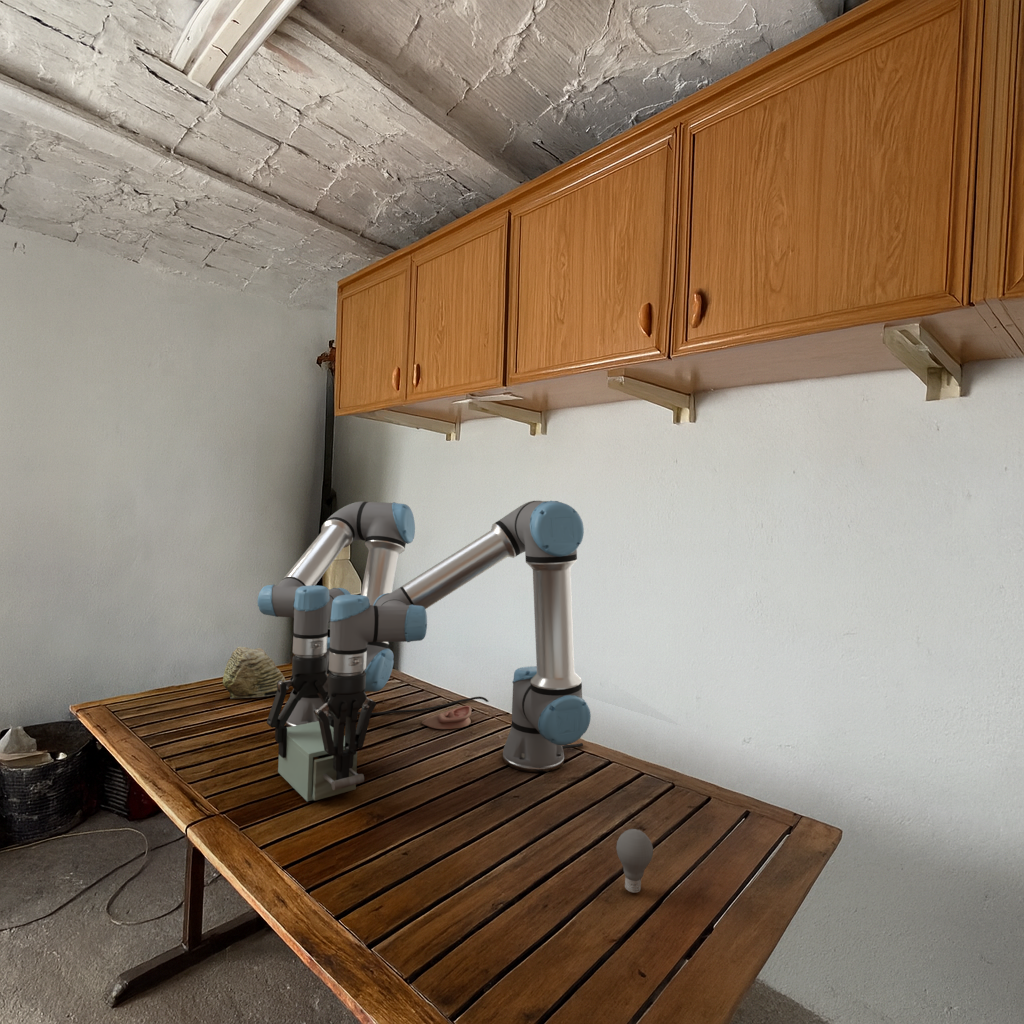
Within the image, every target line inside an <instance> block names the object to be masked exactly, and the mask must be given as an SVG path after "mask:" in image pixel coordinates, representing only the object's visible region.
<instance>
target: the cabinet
mask: <svg viewBox="0 0 1024 1024" xmlns="http://www.w3.org/2000/svg"><path fill="white" fill-rule="evenodd" d="M285 727H286V728H287V747H286V757H285V758H282V757H281V756H280V755H279V754H278V761H277V762H278V765H277V773H278V774H279V775H280V776H281V777H282V778H283V779H284V780H285V781H286V782H287V783H288V784H289V785H290V786H291V787H292V789H294V790H295V792H297V793H298V794H299V795H300V796H301V797H302V798H303V799H304V800H305V801H306V802H307V803H308V802H311V801H314V800H313V792H312V775H313V757H317V756H321V755H325V754H328V753H327V752H326V751H325V750H324V745H323V740H322V735H321V730H320V725H319V721H317V722H312V723H307V724H301V725H296V726H291V727H287V726H285ZM330 729H331V734H332V739H333V732H334V728H333V727H332V726H330ZM343 750H345V735H344V746H343Z"/></svg>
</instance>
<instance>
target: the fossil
mask: <svg viewBox="0 0 1024 1024" xmlns="http://www.w3.org/2000/svg"><path fill="white" fill-rule="evenodd" d="M222 676H223V677H222V685H223V687H224V688H225V690H226V691H228V693H229V698H230V699H250V698H264V697H271V696H276V693H277V682H278V681H279V680H282V681H286V678H285V676H284V674H283V673H282V672H281V669H279V668H278V667H277V665H276V663H275V662H274V660H273V659H272V658H271V657H270V656H269V655H268V654H267V653H266V652H265V650H264V649H263V648H260V647H258V648H251V647H247V646H246V647H245V646H238V647H237V648H236V649H235V650H233V651H232V653H231V656H230V657H229V659H228V660H227V663H226V666H225V668H224V671H223V675H222Z"/></svg>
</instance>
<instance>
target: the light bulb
mask: <svg viewBox="0 0 1024 1024" xmlns="http://www.w3.org/2000/svg"><path fill="white" fill-rule="evenodd" d="M615 849H616V854H617V857H618V859H619V861H620V863H621V865H622V867H623V873H624V874H623V875H624V876H625V878H624V888H625V890H627V891H628V892H630V893H634V894H635V893H639V892H640V891H641V889H642V887H641V886H642V879H643V877H644V875H645V871H646V868H647V867H648V866H649V864H650V863H651V861H652V859H653V855H654V847H653V843H652V841H651V838H649V836H648V835H647V834H646V833H645V832H643V831H642V830H641V829H636V828H629V829H627V830H625V831H623V832H622V833H621V834H620V835H619V837H618V839H617V841H616V847H615Z"/></svg>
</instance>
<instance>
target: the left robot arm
mask: <svg viewBox="0 0 1024 1024" xmlns="http://www.w3.org/2000/svg"><path fill="white" fill-rule="evenodd" d="M413 513H414V512H413V511H412V508H411V507H410V506H409V505H408V504H405V503H399V502H380V501H363V500H362V501H355V502H352V503H348V504H347V505H344V506H343V507H341V508H339V509H338V510H336V511H335V512H334V513H333V514H331V515H330V516H329V517H328V518H327V519H326V520H325V521H324V522H323V524H322V525H321V528H320V533H319V534H318V535H317V537H316V538H315V539H314V540H313V541H312V543H311V544H310V545H309V546H308V548H307V549H306V550H305V551H304V553H303V554H302V555H301V556H300V558H299V559H298V560H297V561H296V562H295V564H294V565H293V566H292V567H291V568H290V570H289V571H288V572H287V573H286V575H284V577H283V578H282V579H281V581H280V582H279V583H278V584H274V583H273V584H267V585H264V586H263V587H262V588H261V589H260V590H259V593H258V596H257V606H258V610H259V612H261V614H263V615H265V616H269V617H276V618H279V617H280V618H291V619H292V618H293V637H292V654H293V656H292V659H291V660H292V661H291V677H290V679H288V680H286V679H285V680H286V681H282V680H279V681H278V682H277V693H276V695H274V699H273V702H272V705H271V707H270V711H269V713H268V716H267V719H266V724H267V725H268V726H269V727H270V728H275V729H274V740H275V742H276V743H277V744H278V756H279V755H280V756H281V757H282V758H285V757H286V747H287V728H286V727H291V726H296V725H301V724H307V723H312V722H317V721H319V720H318V718H317V716H316V715H315V713H314V709H315V708H320V707H321V706H323V705H324V704H325V700H326V698H327V695H328V674H329V673H330V670H329V669H328V668H329V650H330V636H329V635H328V633H329V624H330V620H331V619H330V618H331V610H332V602H333V600H334V598H336V597H337V596H340V595H352V594H351V592H350V591H349V590H348V589H346V588H343V587H332V588H328V587H327V586H324V585H317V584H318V582H319V581H320V580H321V578H322V577H323V575H325V573H326V572H327V571H328V569H329V568H330V566H331V565H332V563H333V562H334V561H335V560H336V558H337V557H338V556H339V555H340V553H341V552H342V550H343V549H345V548H347V547H349V546H350V545H351V544H352V543H353V542H355V541H364V546H365V547H366V548H367V550H368V554H367V559H366V565H365V569H364V575H363V580H362V585H361V591H360V595H363V596H367V597H368V598H369V603H370V605H373V604H374V602H375V600H376V599H377V598H378V597H379V596H381V595H383V594H386V593H392V592H393V591H394V583H395V578H396V573H397V566H398V561H399V556H400V554H402V553H403V552H405V550H406V545H408V544H411V543H412V542H413V541H414V539H415V533H416V523H415V517H414V514H413ZM389 646H390V642H368V643H367V661H366V669H365V670H364V671H365V673H366V685H365V693H366V692H372V693H377V692H379V691H381V690H382V689H383V688H384V687H385V686H386V684H388V682H389V680H390V677H391V675H392V672H393V668H394V663H395V660H394V652H393V651H392V650H391V648H390V647H389ZM290 687H292V690H291V692H290V693H289V697H288V699H287V701H286V702H285V699H286V695H287V691H288V690H290ZM474 700H483V701H484V702H486V703H489V702H490V700H489V699H487V698H486V697H483V696H474V697H469V698H463V699H457V700H453V701H450V702H447V703H442V704H439V705H435V706H429V707H424V708H414V709H398V710H386V711H377V712H372V713H371V716H381V715H390V714H400V713H401V714H403V713H418V712H425V711H431V710H436V709H440V708H444V707H447V706H453V705H455V704H458V703H463V702H464V703H465V702H469V701H474ZM284 702H285V704H284ZM360 712H361V711H358V715H359V716H360ZM328 713H329V714H328V716H327V718H328V720H329V724H330V726H332V727H333V728H334V719H333V714H332V712H331V711H330V710H329V709H328Z"/></svg>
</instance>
